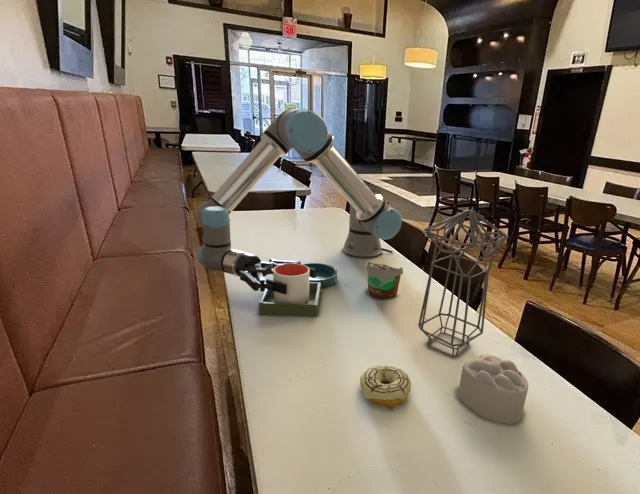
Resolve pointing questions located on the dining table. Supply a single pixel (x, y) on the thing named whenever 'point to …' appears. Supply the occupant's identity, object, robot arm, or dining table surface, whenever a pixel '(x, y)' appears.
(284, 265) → the cup
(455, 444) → the dining table surface
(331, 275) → the dish
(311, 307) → the tray
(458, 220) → the geometric lantern
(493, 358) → the lumpy-topped squat cylinder
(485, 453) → the dining table surface
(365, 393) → the decorated donut
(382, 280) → the food container
